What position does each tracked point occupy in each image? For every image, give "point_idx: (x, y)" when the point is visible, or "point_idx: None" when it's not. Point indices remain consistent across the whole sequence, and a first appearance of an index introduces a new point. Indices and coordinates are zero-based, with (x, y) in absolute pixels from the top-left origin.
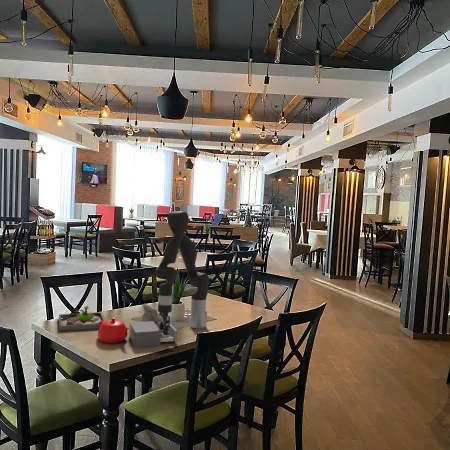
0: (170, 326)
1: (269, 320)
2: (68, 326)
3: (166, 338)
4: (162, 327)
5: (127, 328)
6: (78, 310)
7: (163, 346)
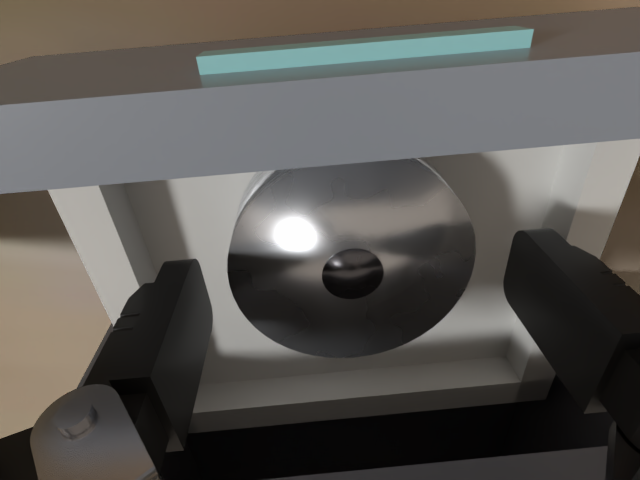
0: (265, 165)
1: None
2: None
3: (598, 233)
4: (193, 322)
5: None
6: None
7: (610, 235)
